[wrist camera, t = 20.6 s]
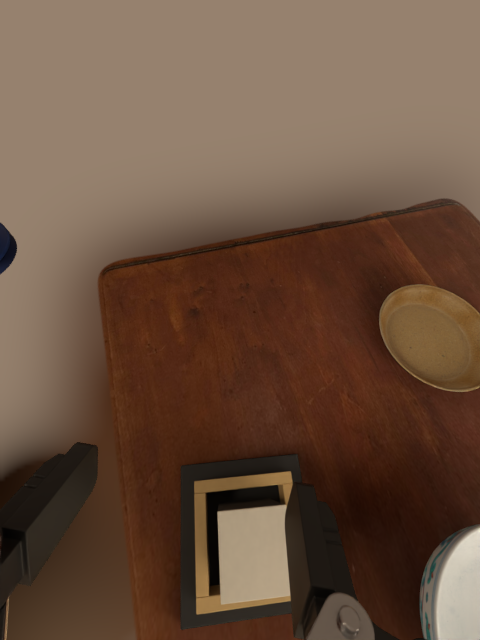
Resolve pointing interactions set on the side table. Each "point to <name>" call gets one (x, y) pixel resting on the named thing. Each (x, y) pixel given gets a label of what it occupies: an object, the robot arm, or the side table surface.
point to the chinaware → (452, 588)
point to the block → (252, 550)
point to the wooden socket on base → (202, 532)
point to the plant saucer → (433, 336)
